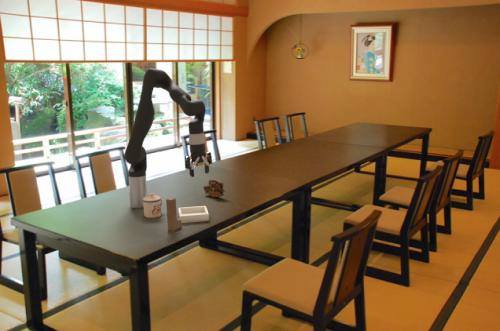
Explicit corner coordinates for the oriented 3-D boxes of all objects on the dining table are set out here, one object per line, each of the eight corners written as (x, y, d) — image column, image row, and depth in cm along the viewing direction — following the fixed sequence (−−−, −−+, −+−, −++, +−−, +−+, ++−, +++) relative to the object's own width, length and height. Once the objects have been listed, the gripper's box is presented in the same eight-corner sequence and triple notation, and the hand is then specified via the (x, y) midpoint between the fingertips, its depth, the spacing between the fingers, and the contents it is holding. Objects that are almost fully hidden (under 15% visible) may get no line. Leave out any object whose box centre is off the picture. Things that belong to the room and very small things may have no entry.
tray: (180, 223, 241) (179, 216, 240) (178, 214, 254) (178, 207, 253) (209, 220, 243) (208, 213, 242) (205, 212, 257) (205, 205, 256)
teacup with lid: (154, 219, 247) (152, 196, 245) (140, 216, 252) (138, 194, 249) (169, 212, 258) (167, 190, 255) (155, 210, 262) (153, 188, 259)
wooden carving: (201, 195, 287) (200, 179, 285) (206, 193, 291) (206, 177, 288) (223, 200, 277) (222, 182, 275) (228, 198, 281) (227, 181, 279)
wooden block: (173, 231, 230) (171, 200, 226) (167, 230, 231) (165, 199, 228) (181, 226, 235) (180, 196, 232) (175, 225, 237) (174, 195, 234)
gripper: (204, 139, 246) (207, 171, 250) (180, 143, 237) (183, 176, 241) (213, 140, 241) (216, 173, 244) (189, 145, 232) (191, 179, 235)
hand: (199, 175), depth 243 cm, fingers open, 8 cm apart
